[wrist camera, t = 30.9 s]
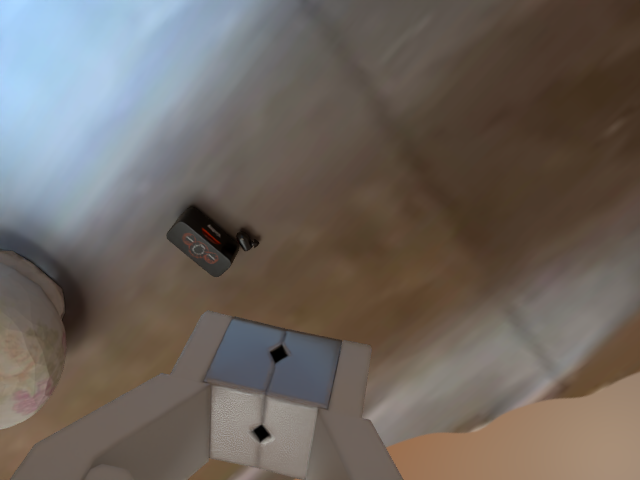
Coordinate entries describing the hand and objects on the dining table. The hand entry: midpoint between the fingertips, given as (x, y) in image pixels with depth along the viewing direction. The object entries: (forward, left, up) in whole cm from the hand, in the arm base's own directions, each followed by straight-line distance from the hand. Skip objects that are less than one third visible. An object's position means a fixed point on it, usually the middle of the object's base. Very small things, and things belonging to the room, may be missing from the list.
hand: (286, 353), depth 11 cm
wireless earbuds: (-4, -28, -39) cm, 48 cm away
